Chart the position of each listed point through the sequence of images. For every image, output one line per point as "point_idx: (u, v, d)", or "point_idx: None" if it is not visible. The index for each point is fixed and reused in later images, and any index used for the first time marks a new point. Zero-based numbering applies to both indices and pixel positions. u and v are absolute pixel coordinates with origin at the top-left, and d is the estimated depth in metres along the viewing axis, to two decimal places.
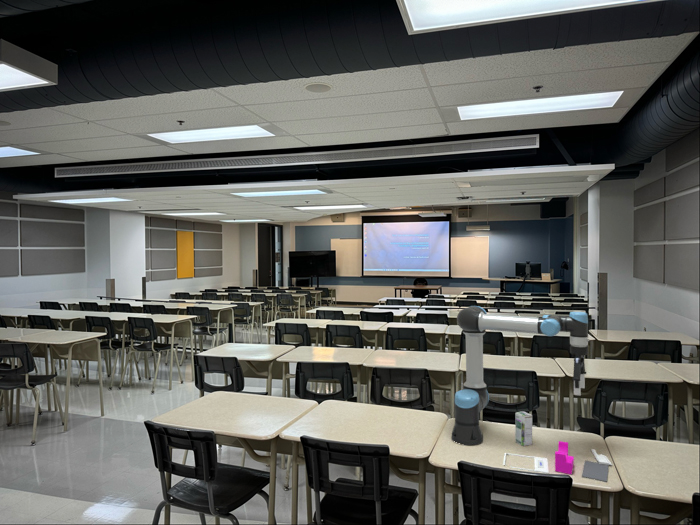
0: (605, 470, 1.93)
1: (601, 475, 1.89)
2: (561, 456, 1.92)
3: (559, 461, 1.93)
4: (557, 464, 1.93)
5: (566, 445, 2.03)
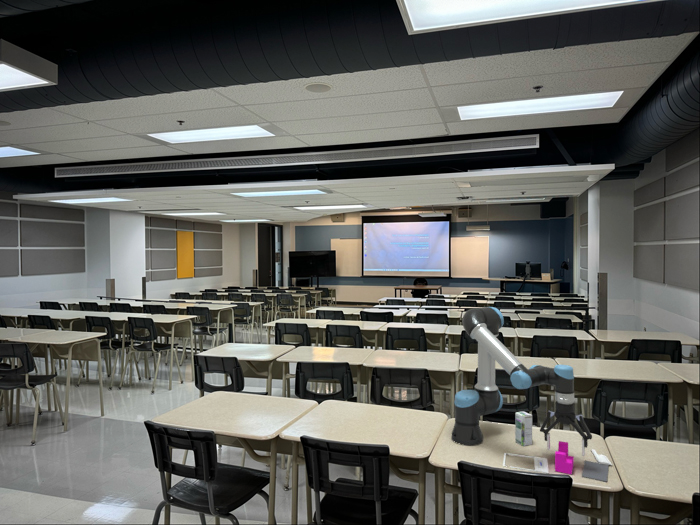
0: (605, 470, 1.93)
1: (601, 475, 1.89)
2: (561, 456, 1.92)
3: (559, 461, 1.93)
4: (557, 464, 1.93)
5: (566, 445, 2.03)
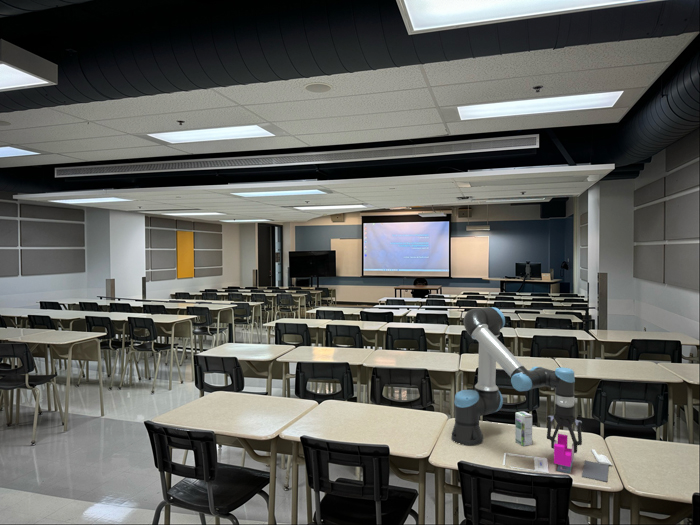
0: (605, 470, 1.93)
1: (601, 475, 1.89)
2: (560, 449, 1.93)
3: (558, 453, 1.93)
4: (556, 457, 1.94)
5: (565, 438, 2.03)
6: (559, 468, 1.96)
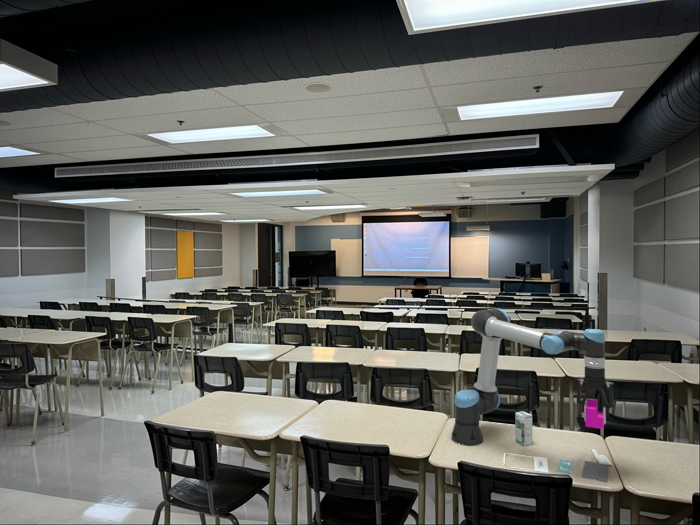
0: (605, 470, 1.93)
1: (601, 475, 1.89)
2: (592, 411, 1.87)
3: (590, 415, 1.87)
4: (588, 419, 1.88)
5: (595, 402, 1.98)
6: (559, 468, 1.96)
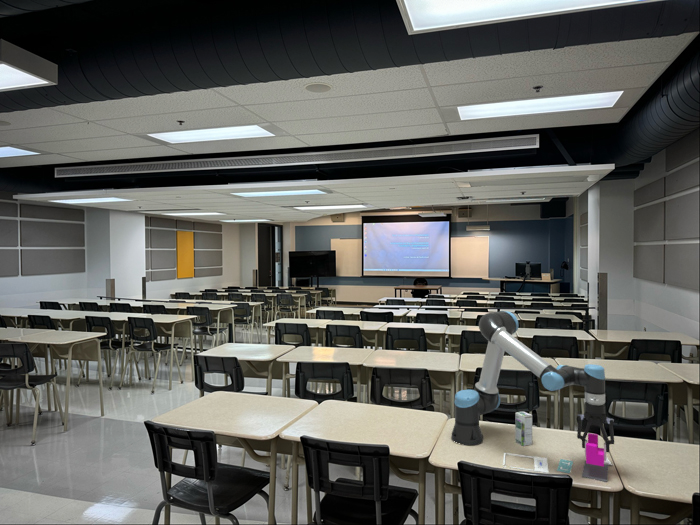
0: (605, 470, 1.93)
1: (601, 475, 1.89)
2: (592, 448, 1.87)
3: (591, 452, 1.87)
4: (588, 456, 1.88)
5: (596, 437, 1.98)
6: (559, 468, 1.96)
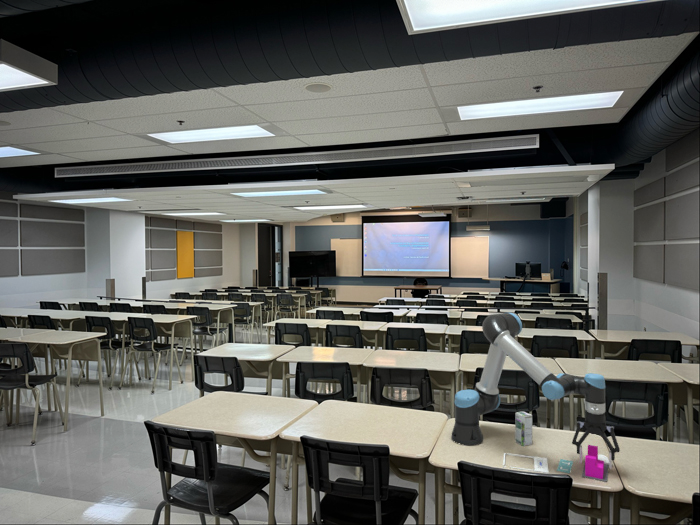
0: (605, 470, 1.93)
1: None
2: (592, 460, 1.87)
3: (590, 465, 1.88)
4: (587, 469, 1.88)
5: (596, 449, 1.98)
6: (559, 468, 1.96)
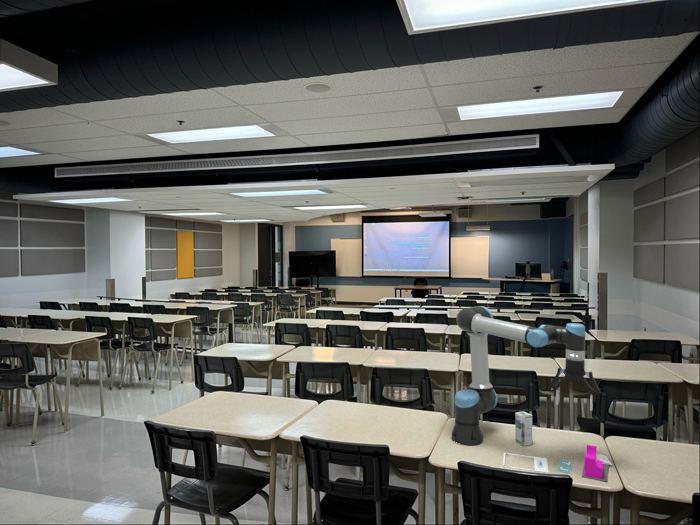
0: (605, 470, 1.93)
1: None
2: (591, 460, 1.87)
3: (589, 465, 1.88)
4: (587, 469, 1.88)
5: (594, 449, 1.98)
6: (559, 468, 1.96)
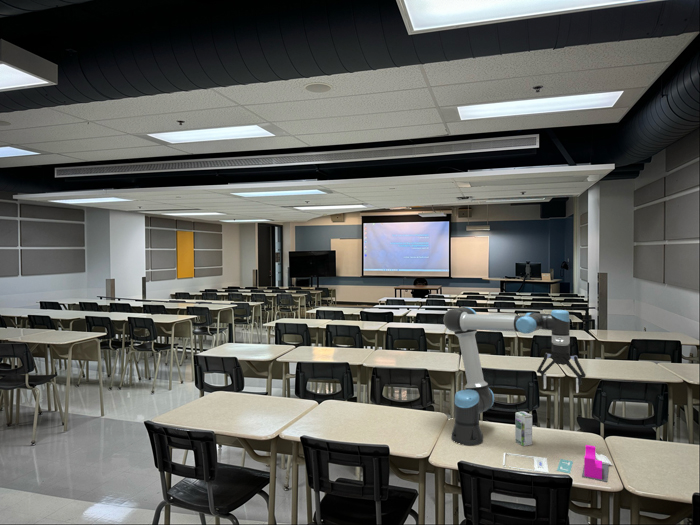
0: (605, 470, 1.93)
1: None
2: (591, 461, 1.87)
3: (589, 465, 1.87)
4: (586, 469, 1.88)
5: (593, 449, 1.98)
6: (559, 468, 1.96)
